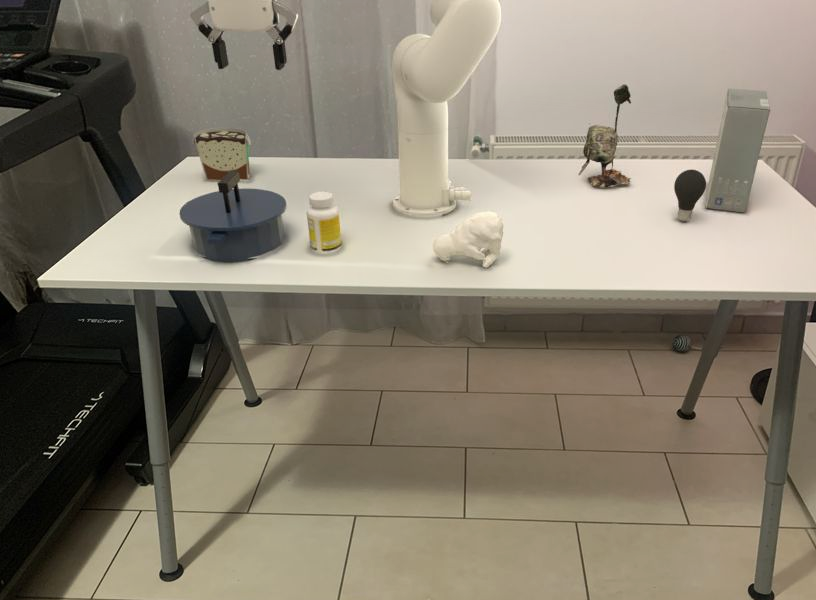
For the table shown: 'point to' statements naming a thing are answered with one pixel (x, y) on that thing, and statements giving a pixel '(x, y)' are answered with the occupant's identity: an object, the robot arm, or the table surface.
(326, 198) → the supplement bottle
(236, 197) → the lid
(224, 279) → the table surface
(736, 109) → the hard drive box
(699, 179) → the light bulb
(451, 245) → the white lumpy rounded piece
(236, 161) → the food container
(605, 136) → the bird figurine
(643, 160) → the table surface
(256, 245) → the pot
